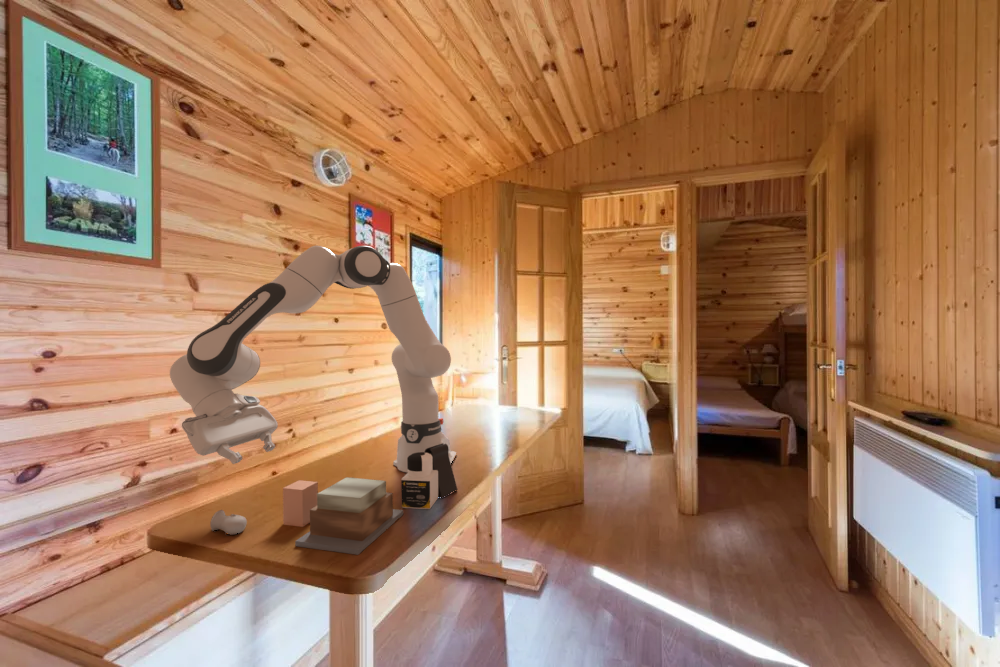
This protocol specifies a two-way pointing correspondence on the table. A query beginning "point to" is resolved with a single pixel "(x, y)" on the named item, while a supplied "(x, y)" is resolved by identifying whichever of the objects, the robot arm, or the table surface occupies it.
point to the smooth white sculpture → (228, 522)
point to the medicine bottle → (419, 482)
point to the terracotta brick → (299, 502)
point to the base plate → (345, 544)
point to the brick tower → (351, 509)
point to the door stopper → (442, 469)
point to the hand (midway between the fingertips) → (255, 455)
